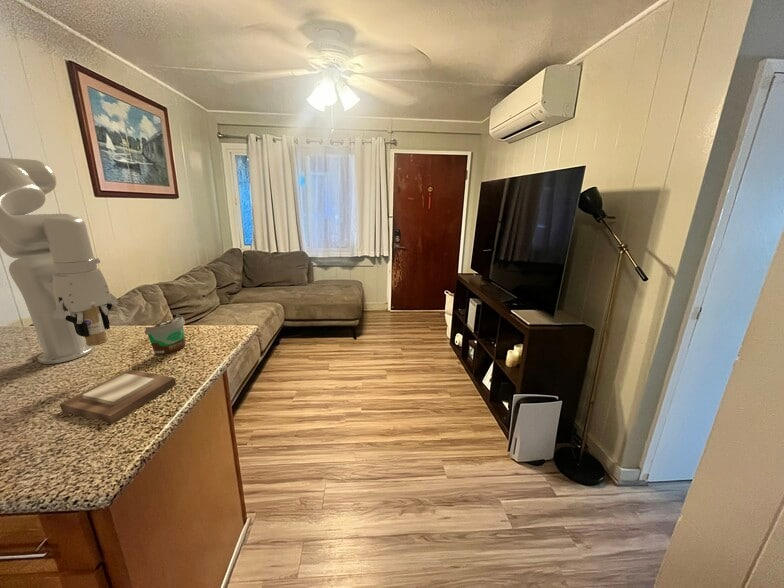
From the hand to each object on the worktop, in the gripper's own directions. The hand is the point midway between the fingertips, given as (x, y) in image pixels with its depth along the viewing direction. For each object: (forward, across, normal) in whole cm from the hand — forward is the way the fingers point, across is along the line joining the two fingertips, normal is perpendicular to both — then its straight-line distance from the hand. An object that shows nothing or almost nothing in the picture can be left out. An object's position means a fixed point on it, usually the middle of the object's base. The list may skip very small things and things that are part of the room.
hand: (94, 331), depth 88 cm
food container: (+13, -17, +6) cm, 22 cm away
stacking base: (+12, +7, +16) cm, 22 cm away
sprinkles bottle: (+4, 0, 0) cm, 4 cm away
